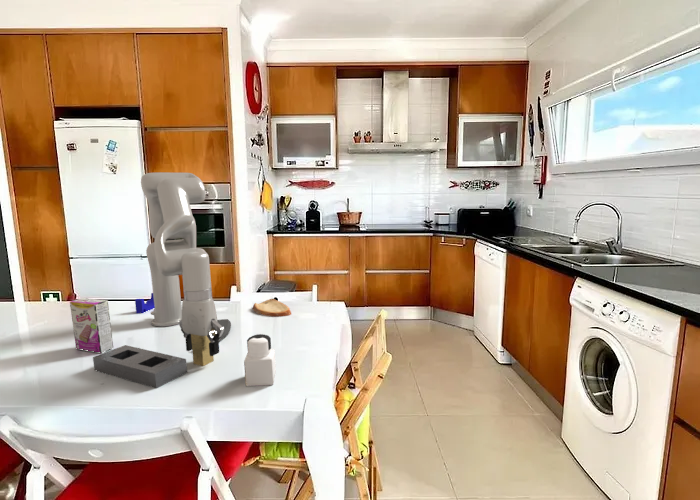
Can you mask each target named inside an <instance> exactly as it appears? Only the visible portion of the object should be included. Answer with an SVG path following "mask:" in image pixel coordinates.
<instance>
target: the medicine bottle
mask: <svg viewBox="0 0 700 500" xmlns="http://www.w3.org/2000/svg"><path fill="white" fill-rule="evenodd" d="M246 344H247V346H246V347H247V354H246V356H245V358H244V360H243V363H244V365H243V366H244V379H245V381H244V382H245V386H246V387H256V386H257V387H259V386H262V387H263V386H272V385H274V383H275V378H276V375H277V369H276V366H277V364H276V352H275V351H276V350H275V349H274V348H272V341H271V337H270V336H269V335H267V334H263V333H262V334H261V333H260V334H254V335H251V336H249V337H248V339H247V340H246Z"/></svg>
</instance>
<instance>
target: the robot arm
mask: <svg viewBox="0 0 700 500" xmlns="http://www.w3.org/2000/svg"><path fill="white" fill-rule="evenodd" d="M140 186H141V189H142V192H143V194H144V196H145V198H146V201H147V205H148V219H149V232H150V235H151V237H152V238H153V239H154V240H153V241H154V242H151V243H149V245H147V247H146V250H145V251H146V259H147V262H148V266H149V270H150V276H151V286H152V293H153V297H154V307H155V308H154V309H152V311H150V315H151V316H152V315H153V318H152V320H151V325H152V326H154V327H171V326H176V325H178V326H179V327H180V331H181V333H182V334H183V338H185V348H186V349H185V350H186V351H187V352H190V351H192V341H191V334H193V335H199V336H207V337H208V339H209V340H210V343H209V353H210V356H213V357H214V356H215V355H217V354H219V353H220V345H219V344H220V343H219V340H220V338H221V337H222V334H223V332H224V327H222V326H221V325H220V324H219V323H218V322H217V320H218V315H217V310H216V309H217V308H216V306H215V305H216V304H215V301H214V298H213V291H212V290H213V289H212V281H211V280H212V278H211V266H210V257H209V256H210V255H209V254H208V252H206V250H205V249H203V248H201V247H197V225H196V219H195V217H194V216H193V213H192V208H191V204H201V203H203V202H204V201H206V196H207V193H206V192H207V191H206V186H205V183H204V182H203V181H202V179H201V178H200V177H199V176H197V175H195V174H194V173H191V172H168V171H167V172H161V171H159V172H146V173H145V174H143V175H142V176H141V178H140ZM179 276H181V277H182V285H183V286H182V287H183V298H184V299H183V300H182V298H181V289H180V286H181V285H180V277H179ZM181 300H182V301H181ZM211 334H213V335H214V337H212V335H211Z"/></svg>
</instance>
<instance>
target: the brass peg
mask: <svg viewBox="0 0 700 500" xmlns="http://www.w3.org/2000/svg"><path fill="white" fill-rule="evenodd" d="M211 335H212V334H211ZM191 341H192V350H191V352H192V362H193V365H195V366H196V365H197V366H201V367H205V366H207V365H208V364H211V363H212V362H214V361H215V358H214V355H213V356H210V353H209V343H210V340H209V339H208V337H207V336H199V335H193V334H191Z"/></svg>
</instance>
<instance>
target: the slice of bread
mask: <svg viewBox="0 0 700 500" xmlns="http://www.w3.org/2000/svg"><path fill="white" fill-rule="evenodd" d="M252 311H253V312H254V313H256V314H257V315H262V316H265V317H272V318H274V317H275V318H279V317H280V318H281V317H288V316H291V315H292V311H291V308H290V307H289V306H288V305H286V304H285V303H284V302H281V301H279V300H276V299H275V298H269V299H266V300H265V301H262V302H260V303H256V302H255V303H253V306H252Z"/></svg>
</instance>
